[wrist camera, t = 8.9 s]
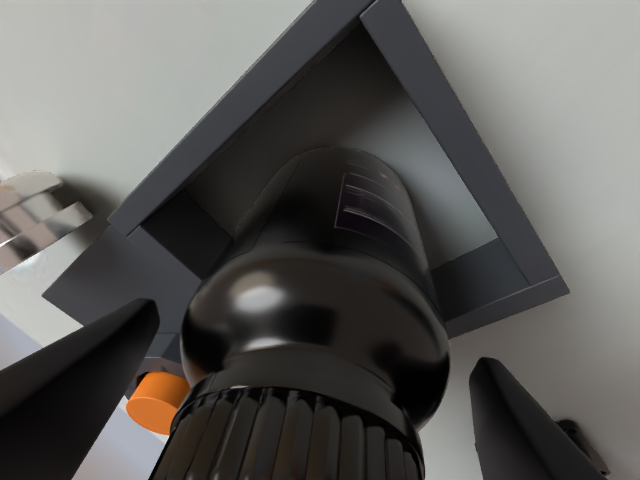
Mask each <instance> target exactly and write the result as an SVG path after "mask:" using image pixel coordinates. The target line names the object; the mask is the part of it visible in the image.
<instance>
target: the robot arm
mask: <svg viewBox="0 0 640 480" xmlns="http://www.w3.org/2000/svg"><path fill="white" fill-rule="evenodd" d="M159 326H160V317H159V312H158V308H157V304H156V302H155V301H154V300H153V299H147V298H138V299H136V300H134V301H132V302H130V303H128V304H126V305H124V306H122V307H120V308H119V309H117V310H115V311H113V312H111V313H109V314H107V315H105V316H103V317H101V318H100V319H98V320H96V321H94V322H92V323H90V324H88V325H86V326H84V327H82V328H81V329H79V330H77V331H75V332H73V333H71V334H69V335H67V336H65V337H63V338H61V339H60V340H58V341H56V342H54V343H52V344H50V345H48V346H46V347H44V348H42V349H41V350H39V351H37V352H35V353H33V354H31V355H29V356H27V357H25V358H23V359H22V360H20V361H18V362H16V363H14V364H12V365H10V366H8V367H6V368H4V369H3V370H1V371H0V480H71V479H72V478H73V476H74V475H75V473H76V471H77V470H78V468H79V466H80V465H81V463H82V462H83V460H84V458H85V457H86V455H87V454H88V452H89V450H90V449H91V447H92V445H93V444H94V442H95V441H96V439H97V437H98V436H99V434H100V433H101V431H102V429H103V428H104V426H105V424H106V423H107V421H108V420H109V418H110V417H111V415H112V413H113V412H114V410H115V409H116V407H117V405H118V404H119V402H120V401H121V399H122V397H123V396H124V394H125V392H126V391H127V389H128V388H129V386H130V384H131V383H132V381H133V379H134V377H135V376H136V374H137V372H138V370H139V368H140V366H141V364H142V362H143V360H144V358H145V356H146V354H147V351H148V349H149V347H150V345H151V343H152V341H153V339H154V337H155V335H156V333H157V331H158V329H159ZM469 389H470V398H471V407H472V416H473V425H474V434H475V441H476V443H475V447H476V451H477V452H478V457H479V461H480V466H481V471H482V475H483V480H607V479H606V477H605V476H607V475H609V474H610V471H609V469H608V467H607V465H606V464H605V462H604V461H603V460H602V458H601V457H600V455H599V454H598V453H597V451H596V450H595V449H594V447H593V446H592V444H591V443H590V442H589V440H588V439H587V437H586V436H585V435H584V433H583V432H582V431H581V429H580V428H579V426H578V425H577V424H576V423H575V422H573V421H564V422H560V423H555V421H554V420H553V419H552V418H551V417H550V416H549V415H548V414H547V413H546V412H545V410H544V409H543V408H542V407H541V406H540V405H539V404H538V403H537V402H536V401H535V399H534V398H533V397H532V396H531V395H530V394H529V393H528V392H527V391H526V390H525V388H524V387H523V386H522V385H521V384H520V383H519V382H518V381H517V380H516V379H515V377H514V376H513V375H512V374H511V373H510V372H509V371H508V370H507V369H506V368H505V366H504V365H503V364H502V363H501V362H500V361H499V360H497V359H493V358H488V357H481V358H480V359H479V360H478V362H477V364H476V365H475V367H474V369H473V371H472V373H471V375H470V378H469Z"/></svg>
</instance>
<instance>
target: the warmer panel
mask: <svg viewBox="0 0 640 480" xmlns="http://www.w3.org/2000/svg"><path fill="white" fill-rule="evenodd" d="M127 237H128V236H124V235H123V234H122V233H121V232H120V231H118V230H117V229H116V228H115V227H114V226H113V225H111V224H110V225H109V226H108V227H107V228H106V229H105V230H104V231H103V232H102V233H101V234H100V235H99V236H98V237H97V238H96V239H95V240H94V241H93V242H92V243H91V244H90V245H89V247H88V248H87V249H86V250H85V251H84V252H83V253H82V254H81V255H80V256H79V257H78V258H77V259H76V260H75V261H74V262H73V263H72V264H71V265H70V266H69V267H68V268H67V269H66V270H65V271H64V272H63V273H62V274H61V275H60V276H59V277H58V278H57V279H56V281H55V282H54V283H53V284H52V285H51V286H50V287H49V288H48V289H47V290H46V291H45V292H44V293H43V294H42V295H41V296H42V297H43V298H45V299H46V300H48V301H49V302H50V303H52V304H53V305H55V306H56V307H58V308H59V309H60V310H62V311H63V312H65V313H66V314H67V315H69V316H70V317H72V318H73V319H75V320H76V321H77V322H79V323H80V324H82V325H83V326H86V325H88V324H90V323H92V322H94V321H96V320H98V319H100V318H101V317H103V316H105V315H107V314H109V313H111V312H113V311H115V310H117V309H119V308H120V307H122V306H124V305H126V304H128V303H130V302H132V301H134V300H136V299H138V298H147V299H153V300H154V301H155V302H156V304H157V308H158V312H159V317H160V326H159V329H158V331H157V333H156V335H155V337H154V339H153V341H152V343H151V345H150V347H149V349H148V351H147V354H146V356H145V358H144V360H143V362H142V364H141V366H140V368H139V370H138V372H137V374H136V376H135V377H134V379H133V381H132V383H131V384H130V386H129V388H128V389H127V391H126V392H125V394H124V395H125V396H126V398H127V399H128V400H129V399H130V398H131V396H132V395H133V393H134V392H135V390H136V389H137V387H138V386H139V384H140V383H141V381H142V380H143V378H144V377H145V376H146V374H148V373H149V372H166V373H169V374H172V375H175V376H178V377H181V378H184V379H186V376H185V374H184V370H183V367H182V362H181V355H180V330H181V324H182V320H183V316H184V314H185V311H186V308H187V306H188V304H189V302H190V300H191V298H192V297H193V294H192V293H191V292H190V291H189V290H187V289H186V288H185V287H184V286H183V285H182V284H180V283H179V282H178V281H177V280H176V279H175V278H173V277H172V276H171V275H170V274H169V273H167V272H166V271H165V270H164V269H163V268H162V267H160V266H159V265H158V264H157V263H156V262H154V261H153V260H152V259H151V258H150V257H149V256H147V255H146V254H145V253H144V252H143V251H142V250H140V249H139V248H138V247H137V246H136V245H134V244H133V243H132V242H131V241H130V240H129V239H127ZM186 380H187V379H186Z"/></svg>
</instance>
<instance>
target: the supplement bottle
mask: <svg viewBox="0 0 640 480" xmlns="http://www.w3.org/2000/svg"><path fill="white" fill-rule="evenodd" d="M180 355H181V362H182V367H183V370H184V374H185V376H186V379H187V381H188V384H189V386H190V388H191V389H190V390H189V391H188V393H187V394H186V396H185V397H184V399H183V401H182V402H181V404H180V406H179V408H178V410H177V411H176V413H175V415H174V417H173V420H172V422H171V425H170V432H169V434H170V437H169V439H168V441H167V443H166V445H165V447H164V449H163V451H162V453H161V455H160V457H159V459H158V461H157V463H156V465H155V467H154V469H153V471H152V473H151V475H150V477H149V479H148V480H425V464H424V457H423V450H422V444H421V440H420V437H419V434H418V432H419V431H420V430H421V429H422V428H423V427H424V426H425V425H426V424H427V423H428V422H429V421H430V419H431V418H432V417H433V415H434V414H435V412H436V411H437V409H438V407H439V406H440V404H441V402H442V399H443V397H444V395H445V392H446V389H447V386H448V382H449V378H450V371H451V352H450V346H449V341H448V336H447V332H446V327H445V323H444V319H443V316H442V312H441V308H440V305H439V301H438V297H437V294H436V290H435V286H434V283H433V279H432V276H431V272H430V268H429V265H428V261H427V257H426V254H425V250H424V246H423V243H422V239H421V235H420V232H419V228H418V225H417V221H416V217H415V214H414V210H413V207H412V204H411V201H410V198H409V195H408V193H407V191H406V189H405V187H404V185H403V183H402V182H401V180H400V179H399V177H398V176H397V175H396V173H395V172H394V171H393V170H392V169H391V168H390V167H388V166H387V165H386V164H385V163H384V162H382V161H381V160H379V159H378V158H376V157H374V156H372V155H370V154H368V153H365V152H363V151H360V150H356V149H352V148H347V147H323V148H317V149H313V150H310V151H307V152H304V153H302V154H300V155H298V156H296V157H294V158H293V159H291V160H290V161H288V162H287V163H286V164H285V165H283V166H282V167H281V168H280V169H279V170H278V171H277V172H276V174H275V175H274V176H273V177H272V179H271V180H270V182H269V183H268V184H267V186H266V187H265V188H264V190H263V191H262V193H261V194H260V196H259V197H258V199H257V200H256V202H255V203H254V205H253V206H252V208H251V209H250V211H249V212H248V214H247V215H246V216H245V218H244V219H243V221H242V222H241V224H240V225H239V227H238V228H237V230H236V231H235V233H234V234H233V236H232V237H231V239H230V240H229V242H228V243H227V245H226V246H225V248H224V249H223V251H222V252H221V254H220V255H219V256H218V258H217V259H216V261H215V262H214V264H213V265H212V267H211V268H210V270H209V271H208V273H207V274H206V276H205V277H204V279H203V280H202V282H201V283H200V285H199V286H198V288H197V290H196V291H195V293H194V295H193V297H192V298H191V300H190V302H189V304H188V306H187V308H186V311H185V314H184V316H183V320H182V324H181V330H180Z"/></svg>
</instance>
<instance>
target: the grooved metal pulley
mask: <svg viewBox="0 0 640 480" xmlns="http://www.w3.org/2000/svg"><path fill="white" fill-rule="evenodd" d="M62 184H63V183H62V181H61V180H60V179H59V178H58V177H57V176H56V175H54V174H53V173H51V172H48V171H45V170H33V171H28V172H25V173H22V174H19V175H16V176H13V177H11V178H8V179H6V180H3V181H1V182H0V275H1V274H3V273H4V272H6V271H8V270H10V269H11V268H13V267H15V266H16V265H18V264H20V263H22V262H23V261H25V260H27V259H28V258H30V257H32V256H33V255H35V254H37V253H38V252H40V251H41V250H43V249H45V248H46V247H48V246H50V245H51V244H53V243H54V242H56V241H58V240H59V239H61V238H62V237H64V236H66V235H67V234H69V233H70V232H72V231H73V230H75V229H76V228H78V227H80V226H81V225H83V224H84V223H85V222H87V221H88V220H90V219H91V218H92V217H93V216H92V214H91V213H90V212H89V211H88V210H87V209H86V208H85V207H84V206H83V205H82V203H81V202H80V201H78V202H76V203H74V204H72V205H71V206H69V207H67V208H65V209H64V207H63V206H62V205H61V204H60V203H59V202H58V201H57V200H56V199H55V198H54V197H53V196H52V195H51V194H50V193H51V192H52V191H54V190H55V189H57V188H58V187H60V186H61V185H62Z"/></svg>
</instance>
